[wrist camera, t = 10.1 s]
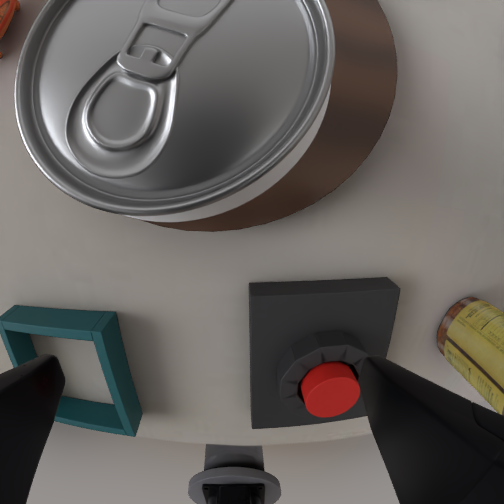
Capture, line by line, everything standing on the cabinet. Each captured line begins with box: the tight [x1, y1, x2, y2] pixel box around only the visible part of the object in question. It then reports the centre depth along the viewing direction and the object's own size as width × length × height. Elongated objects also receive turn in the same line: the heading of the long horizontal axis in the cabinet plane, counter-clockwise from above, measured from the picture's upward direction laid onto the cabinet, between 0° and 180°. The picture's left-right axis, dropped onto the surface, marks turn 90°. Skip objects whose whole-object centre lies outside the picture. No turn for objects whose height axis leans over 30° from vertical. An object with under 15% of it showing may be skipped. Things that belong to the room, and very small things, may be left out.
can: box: [14, 0, 335, 222], centre depth 9 cm, size 6×6×12 cm
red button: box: [301, 361, 360, 417], centre depth 18 cm, size 4×4×2 cm
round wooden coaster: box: [139, 0, 397, 232], centre depth 15 cm, size 22×22×2 cm
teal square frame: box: [0, 305, 143, 437], centre depth 20 cm, size 11×11×3 cm
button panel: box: [249, 277, 400, 429], centre depth 20 cm, size 12×10×4 cm
